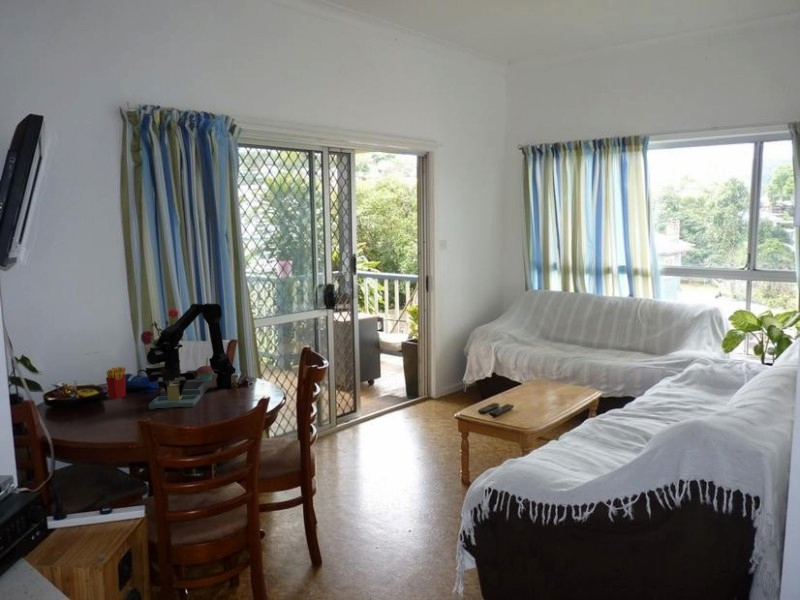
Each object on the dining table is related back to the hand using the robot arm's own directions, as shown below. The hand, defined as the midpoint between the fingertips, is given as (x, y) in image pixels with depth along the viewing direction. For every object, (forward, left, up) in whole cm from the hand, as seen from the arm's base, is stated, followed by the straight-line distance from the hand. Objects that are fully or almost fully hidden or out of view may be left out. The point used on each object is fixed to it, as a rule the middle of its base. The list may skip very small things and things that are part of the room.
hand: (174, 395), depth 265 cm
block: (0, 0, -2) cm, 2 cm away
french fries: (+29, -16, -4) cm, 33 cm away
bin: (0, -17, -4) cm, 17 cm away
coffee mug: (+18, -31, -4) cm, 36 cm away
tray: (0, 0, -4) cm, 4 cm away
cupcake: (-4, -39, -4) cm, 39 cm away
